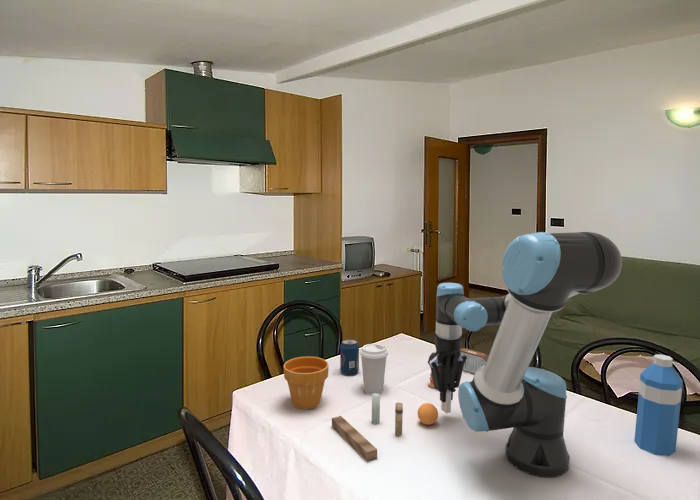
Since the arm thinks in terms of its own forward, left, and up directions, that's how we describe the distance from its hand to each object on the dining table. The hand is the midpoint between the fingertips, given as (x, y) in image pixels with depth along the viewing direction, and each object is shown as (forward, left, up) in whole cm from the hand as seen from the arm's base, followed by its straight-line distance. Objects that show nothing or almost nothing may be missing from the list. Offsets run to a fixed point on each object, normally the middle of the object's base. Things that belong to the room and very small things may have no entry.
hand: (445, 410), depth 142 cm
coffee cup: (+27, +9, -2) cm, 28 cm away
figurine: (+19, -12, -2) cm, 22 cm away
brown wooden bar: (+2, +31, -2) cm, 31 cm away
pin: (-1, +18, -2) cm, 18 cm away
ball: (0, +7, +1) cm, 7 cm away
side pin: (+8, +20, -2) cm, 22 cm away
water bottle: (-39, -39, -2) cm, 55 cm away
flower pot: (+29, +33, -2) cm, 44 cm away
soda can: (+44, +9, -2) cm, 45 cm away
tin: (+22, -31, -2) cm, 38 cm away
